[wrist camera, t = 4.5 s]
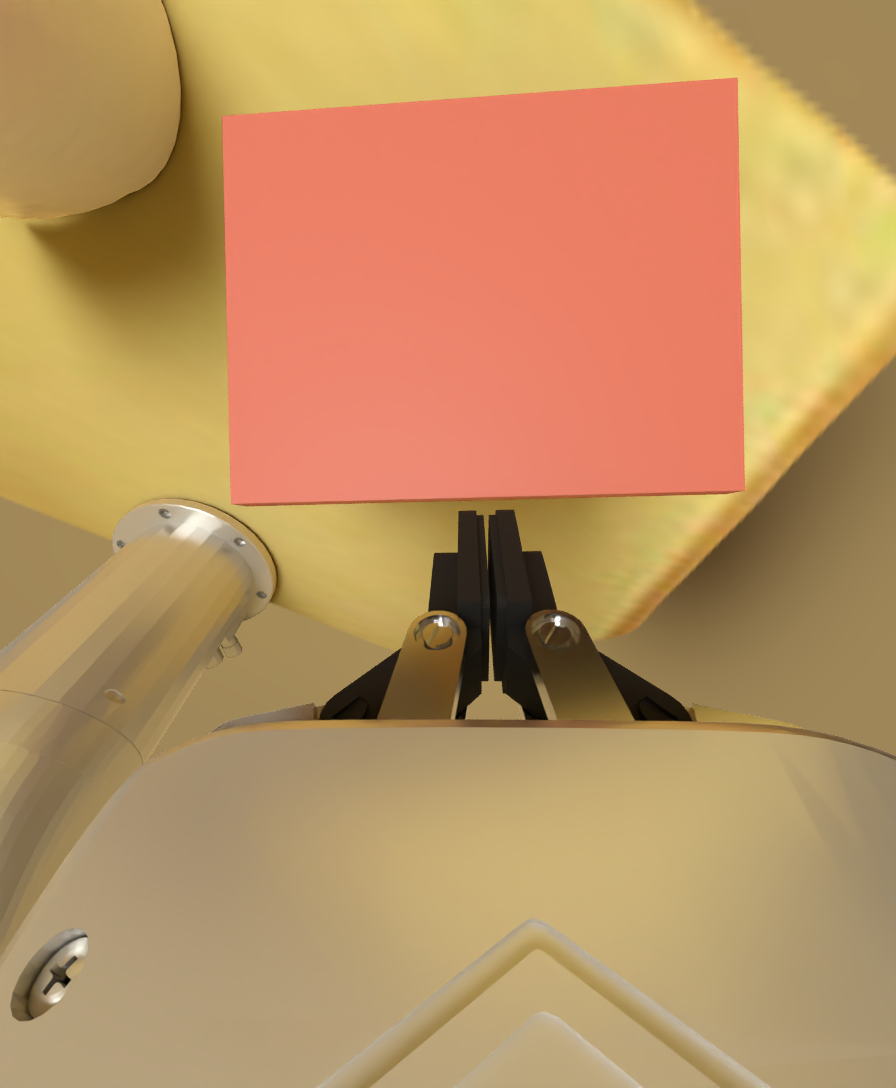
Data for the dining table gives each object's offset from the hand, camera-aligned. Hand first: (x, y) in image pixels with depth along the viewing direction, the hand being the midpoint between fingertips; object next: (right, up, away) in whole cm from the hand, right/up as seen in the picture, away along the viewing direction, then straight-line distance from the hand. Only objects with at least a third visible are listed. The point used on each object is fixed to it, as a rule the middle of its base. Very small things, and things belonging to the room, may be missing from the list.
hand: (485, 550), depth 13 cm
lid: (0, +9, +3) cm, 9 cm away
